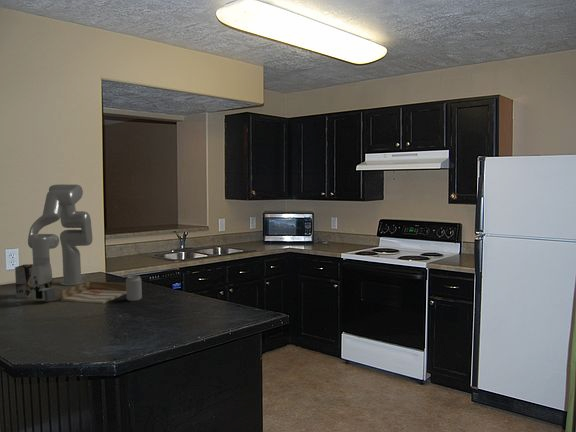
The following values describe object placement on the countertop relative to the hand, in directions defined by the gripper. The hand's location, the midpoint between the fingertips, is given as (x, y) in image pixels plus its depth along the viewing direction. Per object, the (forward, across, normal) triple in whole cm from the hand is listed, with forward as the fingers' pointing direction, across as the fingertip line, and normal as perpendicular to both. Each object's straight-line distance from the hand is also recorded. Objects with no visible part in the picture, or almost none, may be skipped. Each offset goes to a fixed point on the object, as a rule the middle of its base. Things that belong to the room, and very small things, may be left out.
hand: (43, 296), depth 253 cm
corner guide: (+3, -16, +19) cm, 25 cm away
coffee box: (+3, -10, -18) cm, 20 cm away
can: (+3, -14, +42) cm, 44 cm away
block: (+1, 0, 0) cm, 1 cm away
